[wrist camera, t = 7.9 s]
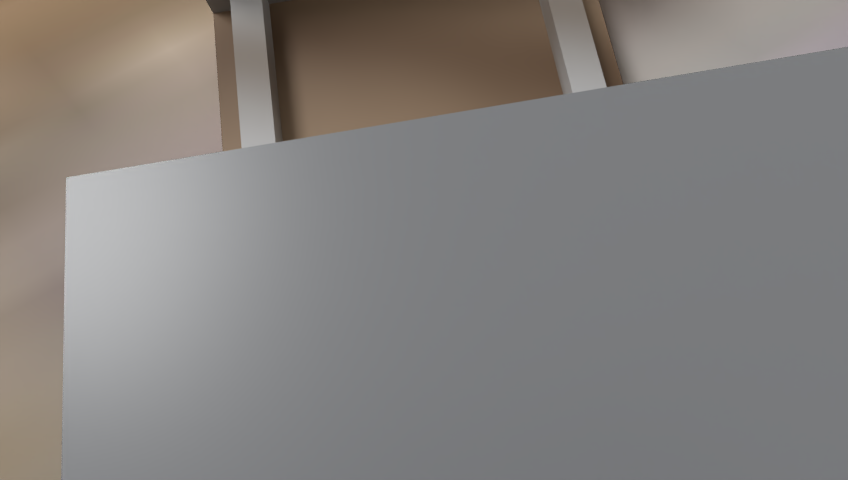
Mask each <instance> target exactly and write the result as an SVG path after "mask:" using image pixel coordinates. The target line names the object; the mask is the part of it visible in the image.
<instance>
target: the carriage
mask: <svg viewBox="0 0 848 480" xmlns="http://www.w3.org/2000/svg"><path fill="white" fill-rule="evenodd" d="M61 480H848V47H844V48H838V49H832V50H826V51H821V52H815V53H809V54H803V55H797V56H791V57H785V58H779V59H773V60H767V61H761V62H755V63H749V64H743V65H737V66H731V67H725V68H719V69H713V70H707V71H701V72H695V73H689V74H683V75H677V76H671V77H665V78H659V79H653V80H647V81H641V82H635V83H629V84H623V85H617V86H611V87H605V88H599V89H593V90H587V91H581V92H575V93H569V94H563V95H557V96H551V97H545V98H539V99H533V100H527V101H521V102H515V103H510V104H504V105H498V106H492V107H486V108H480V109H474V110H468V111H462V112H456V113H450V114H444V115H438V116H432V117H426V118H420V119H414V120H408V121H402V122H396V123H390V124H384V125H378V126H372V127H366V128H360V129H354V130H348V131H342V132H336V133H330V134H324V135H318V136H312V137H306V138H300V139H294V140H288V141H282V142H276V143H270V144H264V145H258V146H252V147H246V148H240V149H234V150H228V151H222V152H216V153H210V154H205V155H199V156H193V157H187V158H181V159H175V160H169V161H163V162H157V163H151V164H145V165H139V166H133V167H127V168H121V169H115V170H109V171H103V172H97V173H91V174H85V175H79V176H73V177H67V178H66V228H65V290H64V352H63V414H62V476H61Z"/></svg>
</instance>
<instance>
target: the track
mask: <svg viewBox="0 0 848 480" xmlns="http://www.w3.org/2000/svg"><path fill="white" fill-rule="evenodd" d="M206 1H207V3H208V5H209V6H210V8H211V10H212V12H213V14H214V28H215V43H216V58H217V73H218V88H219V102H220V117H221V132H222V147H223V151H228V150H234V149H240V148H246V147H252V146H258V145H264V144H270V143H276V142H282V141H288V140H294V139H300V138H306V137H312V136H318V135H324V134H330V133H336V132H342V131H348V130H354V129H360V128H366V127H372V126H378V125H384V124H390V123H396V122H402V121H408V120H414V119H420V118H426V117H432V116H438V115H444V114H450V113H456V112H462V111H468V110H474V109H480V108H486V107H492V106H498V105H504V104H510V103H515V102H521V101H527V100H533V99H539V98H545V97H551V96H557V95H563V94H569V93H575V92H581V91H587V90H593V89H599V88H605V87H611V86H617V85H623V82H622V78H621V75H620V72H619V68H618V65H617V61H616V58H615V55H614V51H613V48H612V44H611V41H610V37H609V34H608V31H607V27H606V24H605V20H604V17H603V14H602V10H601V7H600V3H599V0H206Z"/></svg>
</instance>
